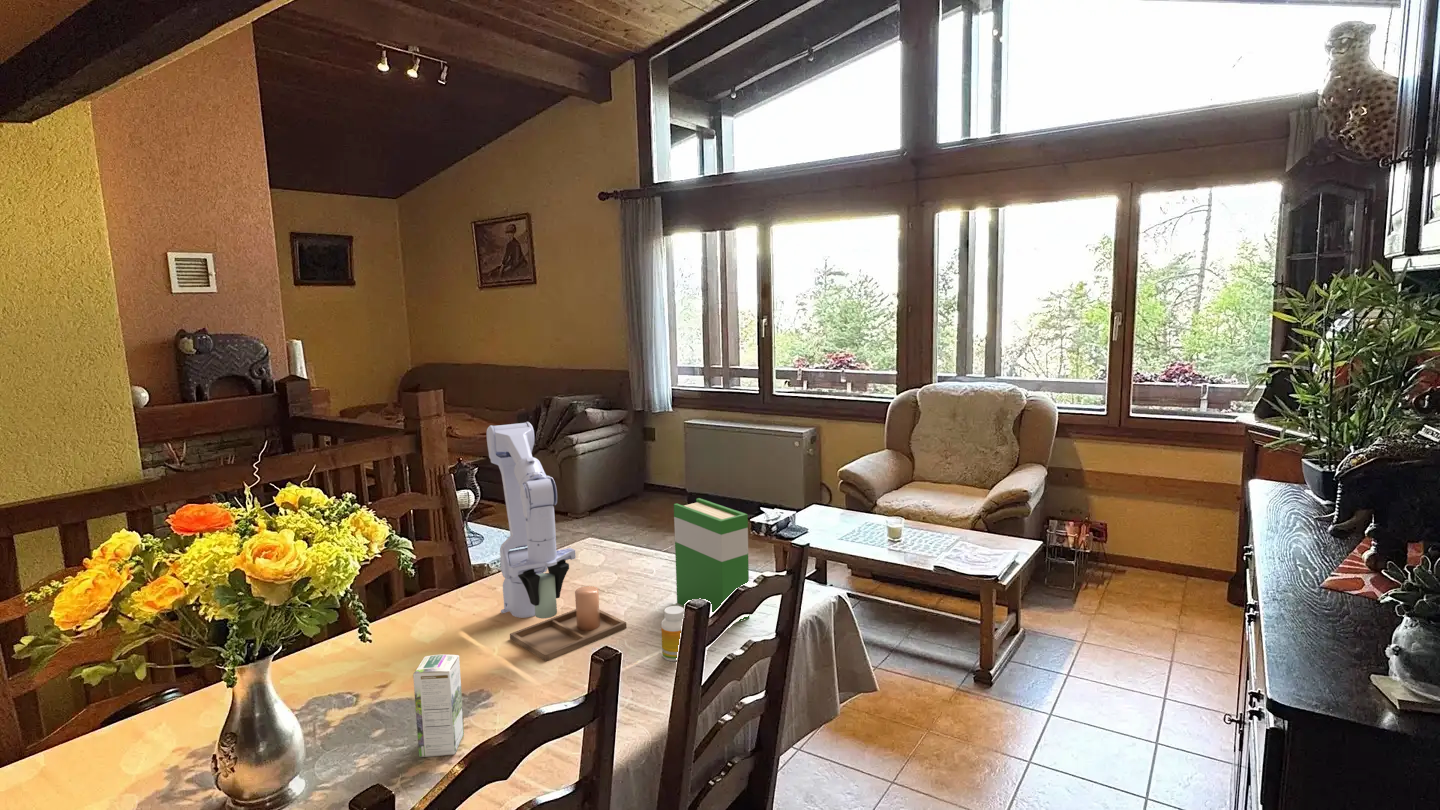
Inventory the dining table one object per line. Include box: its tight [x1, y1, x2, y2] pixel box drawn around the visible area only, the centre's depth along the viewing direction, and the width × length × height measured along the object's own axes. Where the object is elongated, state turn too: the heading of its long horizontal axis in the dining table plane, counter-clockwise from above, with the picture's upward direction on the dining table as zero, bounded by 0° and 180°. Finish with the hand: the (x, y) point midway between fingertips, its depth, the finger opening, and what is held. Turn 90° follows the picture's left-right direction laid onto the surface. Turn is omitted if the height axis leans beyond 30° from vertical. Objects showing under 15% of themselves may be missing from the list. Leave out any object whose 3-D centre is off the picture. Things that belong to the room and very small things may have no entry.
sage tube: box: [534, 572, 558, 620], centre depth 153 cm, size 4×4×8 cm
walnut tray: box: [509, 608, 627, 662], centre depth 158 cm, size 14×20×2 cm
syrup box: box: [412, 654, 465, 758], centre depth 119 cm, size 6×6×14 cm
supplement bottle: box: [660, 605, 685, 662], centre depth 148 cm, size 5×5×10 cm
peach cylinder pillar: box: [574, 585, 600, 631], centre depth 161 cm, size 5×5×8 cm
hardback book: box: [673, 497, 750, 622], centre depth 168 cm, size 18×7×24 cm, turn 38°
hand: (545, 600), depth 153 cm, fingers closed on sage tube, 4 cm apart
